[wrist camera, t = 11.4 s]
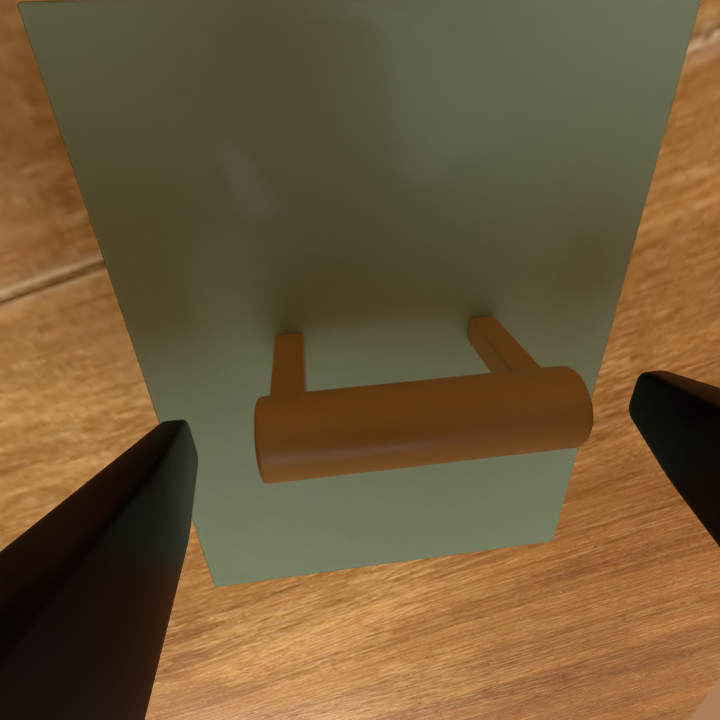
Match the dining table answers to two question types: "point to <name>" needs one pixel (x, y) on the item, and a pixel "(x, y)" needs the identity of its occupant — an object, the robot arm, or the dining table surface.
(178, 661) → the dining table surface
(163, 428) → the robot arm
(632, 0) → the lid
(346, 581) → the dining table surface
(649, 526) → the dining table surface
